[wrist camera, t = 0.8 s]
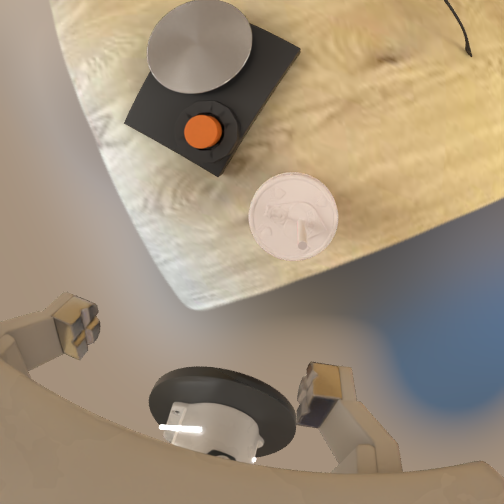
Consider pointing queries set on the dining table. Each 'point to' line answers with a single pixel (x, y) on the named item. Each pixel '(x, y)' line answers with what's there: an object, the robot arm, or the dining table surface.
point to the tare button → (202, 131)
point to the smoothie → (293, 216)
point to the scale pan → (199, 46)
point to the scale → (214, 104)
